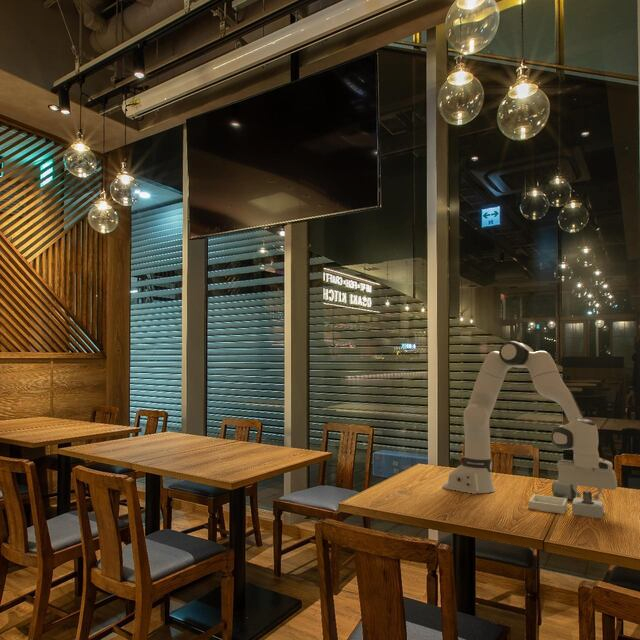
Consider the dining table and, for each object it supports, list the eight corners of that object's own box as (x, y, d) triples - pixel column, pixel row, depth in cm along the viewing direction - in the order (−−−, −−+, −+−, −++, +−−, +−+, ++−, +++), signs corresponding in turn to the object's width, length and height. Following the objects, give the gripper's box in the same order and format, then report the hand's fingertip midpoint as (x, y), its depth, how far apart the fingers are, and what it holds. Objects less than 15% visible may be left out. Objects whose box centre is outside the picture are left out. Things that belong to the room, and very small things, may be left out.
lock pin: (583, 513, 198) (582, 492, 198) (583, 511, 200) (583, 490, 201) (592, 514, 196) (591, 493, 197) (592, 512, 199) (591, 491, 199)
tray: (528, 508, 203) (528, 501, 204) (533, 501, 214) (533, 494, 214) (564, 514, 197) (563, 506, 197) (567, 506, 208) (567, 498, 208)
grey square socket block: (572, 514, 197) (571, 503, 197) (574, 508, 205) (574, 497, 206) (602, 518, 192) (601, 507, 192) (603, 512, 200) (603, 501, 200)
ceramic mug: (557, 494, 226) (557, 476, 226) (577, 498, 220) (576, 479, 221) (548, 499, 218) (547, 481, 219) (568, 503, 213) (567, 484, 213)
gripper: (556, 460, 203) (556, 496, 201) (616, 465, 192) (617, 504, 191) (557, 457, 208) (558, 492, 207) (616, 463, 197) (617, 500, 196)
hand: (587, 498), depth 199 cm, fingers open, 5 cm apart
